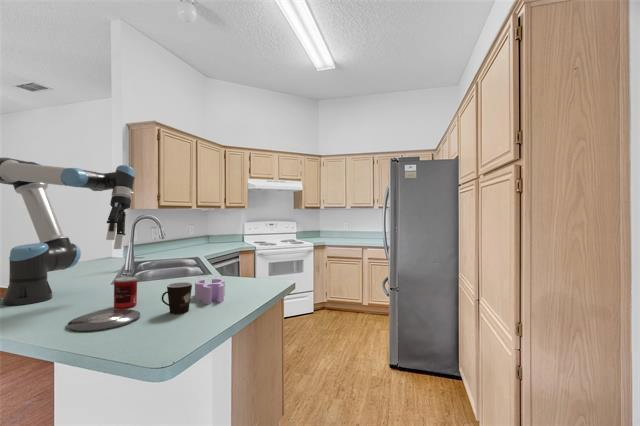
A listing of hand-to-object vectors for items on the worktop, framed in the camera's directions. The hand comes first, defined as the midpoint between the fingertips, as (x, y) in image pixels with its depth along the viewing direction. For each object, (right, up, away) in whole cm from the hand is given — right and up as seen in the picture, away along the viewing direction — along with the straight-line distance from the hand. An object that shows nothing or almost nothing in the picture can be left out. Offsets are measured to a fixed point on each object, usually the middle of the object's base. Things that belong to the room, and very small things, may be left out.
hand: (114, 244), depth 130 cm
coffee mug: (+33, -24, -16) cm, 44 cm away
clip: (+39, -24, +5) cm, 46 cm away
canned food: (+10, -24, -9) cm, 27 cm away
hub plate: (+14, -23, -26) cm, 38 cm away
